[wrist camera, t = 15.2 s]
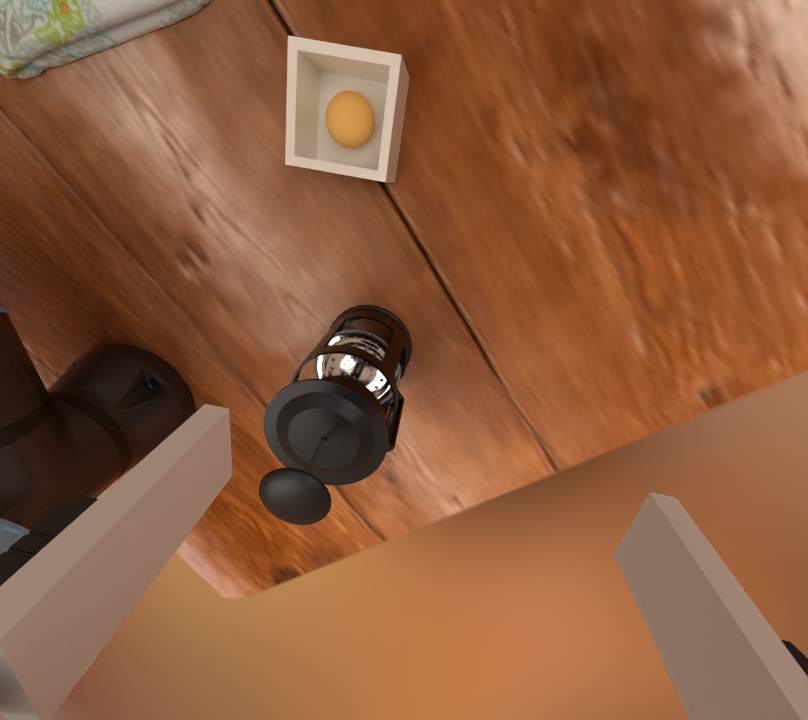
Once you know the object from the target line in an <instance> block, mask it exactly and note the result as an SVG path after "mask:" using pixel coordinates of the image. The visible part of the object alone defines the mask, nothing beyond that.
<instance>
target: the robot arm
mask: <svg viewBox="0 0 808 720" xmlns="http://www.w3.org/2000/svg"><path fill="white" fill-rule="evenodd" d="M7 313H9V310H8V309H7V308H6V307H4V306H2V304H1V302H0V713H1V715H2V716H3V718H4V719H9V720H50V718H51V717H52V716H53V714H54V713H55V712H56V710H57V709H58V708H59V706H60V705H61V704H62V702H63V701H64V700H65V698H66V697H67V696H68V694H69V693H70V692H71V690H72V689H73V688H74V686H75V685H76V684H77V682H78V681H79V680H80V678H81V677H82V676H83V674H84V673H85V672H86V670H87V669H88V668H89V666H90V665H91V664H92V662H93V661H94V659H95V658H96V657H97V656H98V654H99V653H100V652H101V650H102V649H103V648H104V646H105V645H106V644H107V642H108V641H109V640H110V638H111V637H112V636H113V634H114V633H115V632H116V630H117V629H118V628H119V626H120V625H121V623H122V622H123V621H124V619H125V618H126V617H127V616H128V614H129V613H130V612H131V610H132V609H133V607H134V606H135V605H136V603H137V602H138V601H139V599H140V598H141V597H142V596H143V594H144V593H145V592H146V590H147V589H148V587H149V586H150V585H151V583H152V582H153V581H154V580H155V578H156V577H157V575H158V574H159V573H160V571H161V570H162V569H163V567H164V566H165V565H166V563H167V562H168V561H169V559H170V558H171V557H172V555H173V554H174V553H175V551H176V550H177V549H178V547H179V546H180V545H181V543H182V542H183V541H184V539H185V538H186V537H187V535H188V534H189V533H190V531H191V530H192V529H193V527H194V526H195V525H196V523H197V522H198V521H199V519H200V518H201V517H202V515H203V514H204V513H205V511H206V510H207V509H208V507H209V506H210V505H211V503H212V502H213V501H214V499H215V498H216V497H217V495H218V494H219V493H220V491H221V490H222V489H223V487H224V486H225V485H226V483H227V482H228V481H229V479H230V478H231V477H232V459H231V438H230V418H229V408H224V407H219V406H214V405H209V404H204V405H203V406H202V407H201V408H200V409H199V410H198V411H197V412H196V413H195V407H194V402H193V399H192V396H191V394H190V392H189V390H188V388H187V386H186V385H185V383H184V382H183V380H182V379H181V378H180V376H179V375H178V374H177V373H176V372H175V371H174V370H173V369H172V368H171V367H170V366H169V365H168V364H166V363H165V362H164V361H162V360H161V359H160V358H158V357H157V356H155V355H153V354H151V353H149V352H147V351H145V350H143V349H140V348H137V347H134V346H129V345H122V344H111V345H106V346H102V347H99V348H97V349H95V350H93V351H91V352H88V353H86V354H84V355H82V356H81V357H79V358H78V359H76V360H75V361H74V362H73V363H72V365H71V366H70V367H69V368H68V369H67V371H66V373H64V374H63V375H62V376H61V377H60V378H59V379H58V380H57V381H56V382H55V383H54V384H53V385H52V386H50V387H49V388H48V389H47V390H46V388H45V386H44V384H43V382H42V380H41V378H40V376H39V374H38V373H37V371H36V369H35V367H34V365H33V363H32V361H31V359H30V357H29V355H28V353H27V351H26V349H25V347H24V345H23V344H22V342H21V340H20V338H19V336H18V334H17V332H16V330H15V328H14V326H13V324H12V322H11V320H10V318H9V316H8V314H7ZM132 468H133V469H132ZM130 469H132V470H130ZM128 470H130V471H129V472H128V473H127V474H126V475H125V476H124V477H123V478H121V479H120V480H119V481H118V482H117V483H116V484H115V485H114V486H112V487H111V488H110V489H109V490H108V491H107V492H106V493H105V494H103V495H102V496H101V497H100V498H99V499H96V498H97V497H98V496H99V495H101V494H102V493H103V492H104V491H105V490H106V489H107V488H108V487H110V486H111V485H112V484H113V483H114V482H115V481H116V480H117V479H118V478H120V477H121V476H122V475H123V474H124V473H125V472H127V471H128ZM614 555H615V557H616V559H617V561H618V564H619V566H620V568H621V570H622V572H623V575H624V577H625V579H626V581H627V583H628V586H629V588H630V590H631V592H632V594H633V597H634V599H635V601H636V603H637V605H638V608H639V610H640V612H641V614H642V617H643V619H644V621H645V623H646V625H647V628H648V630H649V632H650V634H651V636H652V639H653V641H654V643H655V644H656V647H657V650H658V652H659V654H660V656H661V658H662V661H663V663H664V665H665V667H666V669H667V672H668V674H669V676H670V678H671V680H672V683H673V685H674V687H675V689H676V691H677V694H678V696H679V698H680V700H681V703H682V705H683V707H684V709H685V711H686V714H687V716H688V718H689V720H808V658H806V657H805V655H803V654H802V653H801V652H800V651H799V650H798V649H797V648H796V647H795V646H794V645H793V644H792V643H791V642H789V641H784V640H780V638H779V637H778V636H777V634H776V633H775V632H774V630H773V629H772V628H771V626H770V625H769V624H768V622H767V621H766V619H765V618H764V617H763V615H762V614H761V613H760V611H759V610H758V609H757V607H756V606H755V604H754V603H753V602H752V600H751V599H750V598H749V596H748V595H747V594H746V592H745V591H744V590H743V588H742V587H741V585H740V584H739V583H738V581H737V580H736V579H735V577H734V576H733V575H732V573H731V572H730V570H729V569H728V568H727V566H726V565H725V564H724V563H723V561H722V560H721V558H720V557H719V556H718V555H717V553H716V551H715V550H714V549H713V547H712V546H711V545H710V543H709V542H708V541H707V539H706V538H705V537H704V535H703V534H702V532H701V531H700V530H699V528H698V527H697V526H696V524H695V523H694V522H693V520H692V519H691V517H690V516H689V515H688V513H687V512H686V511H685V509H684V508H683V507H682V505H681V504H680V502H679V501H678V500H677V498H675V497H670V496H666V495H660V494H655V493H650V494H649V496H648V497H647V499H646V501H645V502H644V504H643V506H642V508H641V509H640V511H639V513H638V514H637V516H636V518H635V519H634V521H633V523H632V524H631V526H630V528H629V529H628V531H627V533H626V534H625V536H624V538H623V539H622V541H621V543H620V544H619V546H618V548H617V550H616V551H615V553H614Z"/></svg>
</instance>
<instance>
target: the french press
mask: <svg viewBox="0 0 808 720" xmlns="http://www.w3.org/2000/svg"><path fill="white" fill-rule="evenodd" d="M361 318H364V319H371V320H374V321H377V322H379V323H381V324H383V325H385V326H387V327H388V328H389V329H390V330H391V331H393V333H392V335H391V338H390V341H389V343H387V342H386V341H385V340H384V339H382V338H381V337H379V336H377V335H375V334H373V333H370V332H367V331H362V330H345V331H342V330H343V329H344V328H345V326H347V325H348V324H349V323H350V322H352V321H355V320H357V319H361ZM411 351H412V344H411V338H410V335H409V332H408V330H407V328H406V327H405V325H404V324H403V322H402V321H401V320H400V319H399V318H398V317H397V316H396V315H394V314H393V313H391V312H390V311H388V310H386V309H384V308H381V307H378V306H371V305H361V306H356V307H353V308H350V309H348V310H346V311H344V312H343V313H342V314H341V315H339V316H338V317H337V319H336V320H335V321H334V322H333V324H332V326H331V328H330V330H329V331H328V333H327V334H326V335H325V336H324V338H323V339H322V340H321V341H320V342H319V344H318V345H317V346H316V347H315V348H314V350H313V351H312V352H311V353H310V354H309V356H308V357H307V358H306V359H305V360H304V362H303V363H302V364H301V365H300V367H299V368H298V369H297V370H296V371H295V374H294V376H293V378H292V380H291V384H290V385H288V386H286V387H285V388H283V389H282V390H281V391H279V392H278V393H277V394H276V395H275V397H274V398H273V399H272V400H271V402H270V403H269V405H268V407H267V410H266V412H265V417H264V433H265V436H266V440H267V443H268V445H269V446H270V448H271V450H272V452H273V453H274V455H275V456H276V457H277V458H278V460H279V461H280V462H281V463H282V464H283V465H284V466H286V467H287V468H280V469H276V470H273V471H271V472H269V473H268V474H266V475H265V476H264V478H263V479H262V481H261V483H260V487H259V495H260V498H261V501H262V503H263V504H264V506H265V507H266V508H267V510H268V511H269V512H271V513H272V514H273V515H274V516H276V517H277V518H279V519H281V520H283V521H285V522H288V523H292V524H297V525H308V524H313V523H316V522H318V521H320V520H322V519H323V518H324V517H325V516H326V515H327V514H328V512H329V511H330V508H331V497H330V493H329V491H328V489H327V488H326V486H325V485H324V484H326V485H345V484H352V483H355V482H358V481H361V480H363V479H364V478H366V477H368V476H370V475H371V474H372V473H373V472H374V471H375V470H377V469H378V467H379V466H380V464H381V463H382V461H383V460H384V457H385V454H386V452H389V451H391V450H393V449H394V447H395V443H396V438H397V433H398V428H399V423H400V419H401V414H402V409H403V404H404V398H403V396H402V395H401V393H400V392H399V391H398V389H397V388H398V386H399V383H400V380H401V378H402V377H403V375H404V372H405V369H406V367H407V365H408V363H409V360H410V357H411ZM314 358H315V373H316V377H317V379H305V380H301V381H298V378H299V373H300V371H301V369H302V367H303V365H305V364H306V363H307V362H309V361H310V360H312V359H314ZM388 408H389V410H388ZM387 412H388V414H387ZM386 416H387V418H386ZM385 419H386V420H385Z"/></svg>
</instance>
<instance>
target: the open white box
mask: <svg viewBox="0 0 808 720" xmlns="http://www.w3.org/2000/svg"><path fill="white" fill-rule="evenodd" d="M409 79H410V78H409V75H408V72H407V69H406V66H405V63H404V60H403V58H402V55H400V54H394V53H388V52H382V51H376V50H370V49H364V48H358V47H352V46H347V45H341V44H335V43H329V42H323V41H317V40H311V39H305V38H299V37H294V36H288V61H287V107H286V154H285V164H286V165H292V166H298V167H303V168H309V169H314V170H320V171H325V172H331V173H337V174H342V175H348V176H353V177H359V178H364V179H370V180H375V181H381V182H388V183H395V181H396V174H397V166H398V159H399V152H400V145H401V137H402V130H403V123H404V115H405V108H406V101H407V93H408V86H409ZM342 91H355V92H357V93H359V94H361V95H362V96H364V97H365V98H366V99H367V100H368V102H369V103H370V105H371V107H372V109H373V112H374V116H375V127H374V131H373V134H372V136H371V138H370V139H369V141H368V142H367V143H366V144H365V145H363V146H361V147H359V148H355V149H349V148H345V147H342V146H341V145H339V144H338V143H336V142H335V141H334V140H333V138H332V137H331V135H330V134H329V132H328V129H327V126H326V120H325V115H326V109H327V106H328V104H329V102H330V100H331V99H332V98H333V97H334V96H335V95H336V94H338V93H339V92H342Z"/></svg>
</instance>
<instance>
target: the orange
mask: <svg viewBox="0 0 808 720" xmlns="http://www.w3.org/2000/svg"><path fill="white" fill-rule="evenodd" d="M325 120H326V126H327V129H328V132H329V134H330V135H331V137H332V138H333V140H334V141H335V142H336V143H338V144H339V145H341V146H342V147H345V148H349V149H355V148H359V147H361V146H363V145H365V144H366V143H367V142H368V141H369V139H370V138H371V136H372V134H373V131H374V127H375V116H374V112H373V109H372V107H371V105H370V103H369V102H368V100H367V99H366V98H365V97H364V96H362V95H361V94H359V93H357V92H355V91H342V92H339V93H338V94H336V95H335V96H334V97H333V98H332V99H331V100H330V102H329V104H328V106H327V109H326V115H325Z"/></svg>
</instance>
